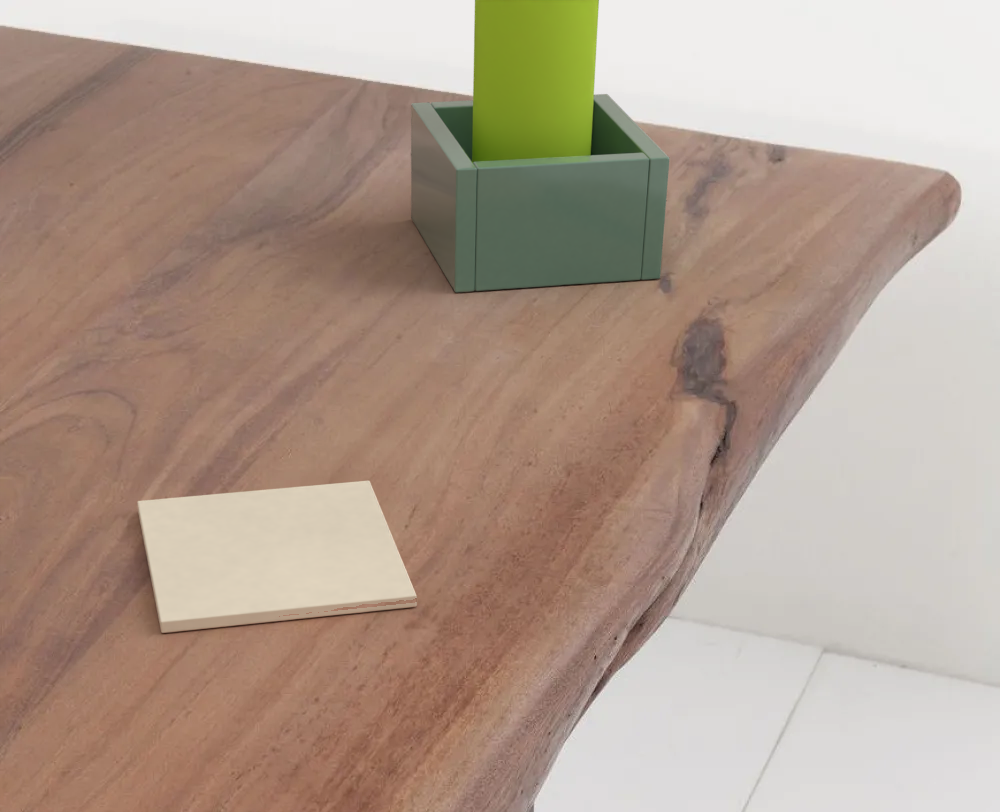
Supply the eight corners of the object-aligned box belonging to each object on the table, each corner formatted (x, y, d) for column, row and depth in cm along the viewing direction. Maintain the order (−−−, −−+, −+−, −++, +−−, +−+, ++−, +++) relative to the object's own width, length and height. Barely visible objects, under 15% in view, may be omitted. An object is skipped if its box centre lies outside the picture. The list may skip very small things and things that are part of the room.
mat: (161, 633, 65) (160, 621, 65) (137, 512, 72) (136, 500, 72) (417, 607, 67) (417, 595, 67) (369, 491, 74) (369, 479, 74)
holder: (454, 293, 91) (456, 169, 87) (410, 218, 99) (410, 102, 95) (660, 279, 93) (670, 157, 89) (601, 207, 101) (607, 93, 97)
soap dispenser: (502, 278, 92) (515, -172, 81) (454, 230, 98) (459, -198, 86) (612, 265, 94) (640, -177, 82) (559, 219, 99) (578, -203, 88)
